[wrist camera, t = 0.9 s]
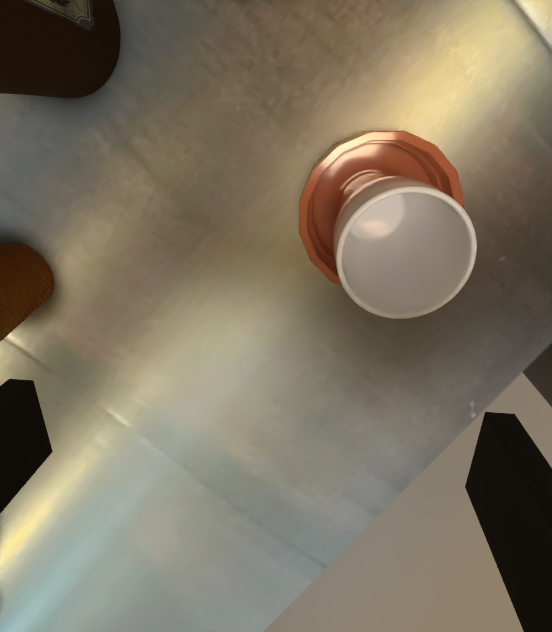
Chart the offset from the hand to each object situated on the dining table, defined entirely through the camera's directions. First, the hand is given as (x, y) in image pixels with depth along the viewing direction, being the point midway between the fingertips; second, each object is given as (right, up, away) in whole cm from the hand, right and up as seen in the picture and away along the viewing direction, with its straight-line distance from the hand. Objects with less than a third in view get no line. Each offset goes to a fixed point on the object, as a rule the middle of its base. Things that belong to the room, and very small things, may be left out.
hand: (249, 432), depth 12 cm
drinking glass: (+9, +12, +21) cm, 26 cm away
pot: (+9, +13, +22) cm, 27 cm away
